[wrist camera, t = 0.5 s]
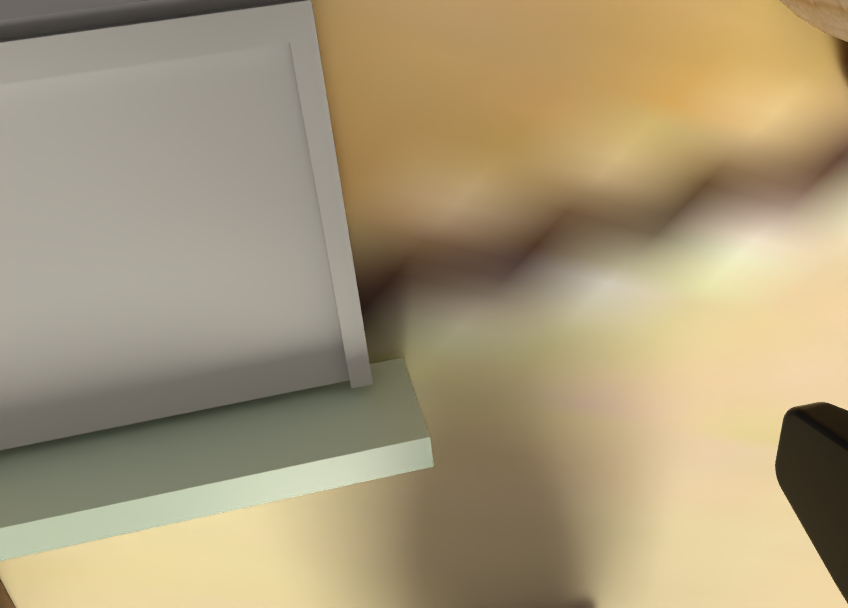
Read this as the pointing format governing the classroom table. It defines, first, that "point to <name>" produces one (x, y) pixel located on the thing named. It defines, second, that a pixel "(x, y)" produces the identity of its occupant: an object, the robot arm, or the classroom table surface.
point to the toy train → (823, 15)
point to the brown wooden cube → (5, 598)
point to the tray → (178, 276)
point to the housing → (50, 6)
